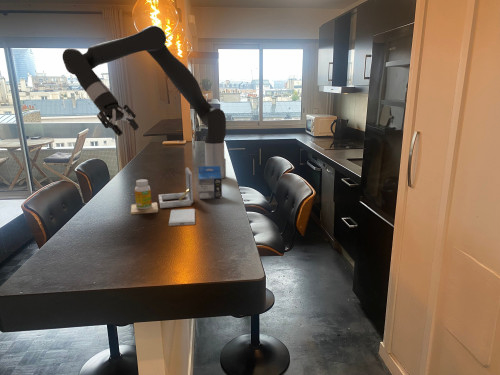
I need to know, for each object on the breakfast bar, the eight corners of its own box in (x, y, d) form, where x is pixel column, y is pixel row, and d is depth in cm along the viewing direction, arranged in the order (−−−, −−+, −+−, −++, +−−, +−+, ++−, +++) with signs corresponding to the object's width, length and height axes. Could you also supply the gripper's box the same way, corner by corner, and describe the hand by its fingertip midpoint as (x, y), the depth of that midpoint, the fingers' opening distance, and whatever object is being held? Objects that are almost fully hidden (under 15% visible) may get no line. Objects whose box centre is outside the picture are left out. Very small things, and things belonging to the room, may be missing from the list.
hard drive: (170, 209, 121) (168, 222, 109) (194, 208, 122) (195, 221, 110) (171, 214, 121) (168, 227, 109) (195, 213, 122) (195, 226, 110)
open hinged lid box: (189, 197, 139) (187, 167, 136) (193, 205, 129) (191, 173, 126) (158, 199, 136) (156, 169, 133) (160, 208, 126) (158, 175, 123)
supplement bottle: (143, 210, 121) (141, 183, 118) (132, 207, 124) (130, 181, 121) (155, 206, 125) (153, 180, 123) (144, 203, 128) (142, 178, 125)
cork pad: (157, 204, 130) (156, 202, 130) (158, 212, 122) (158, 209, 121) (131, 206, 127) (131, 204, 127) (131, 214, 119) (130, 212, 119)
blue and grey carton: (199, 199, 136) (198, 168, 133) (199, 196, 140) (197, 166, 137) (222, 198, 137) (221, 167, 134) (221, 195, 141) (220, 165, 138)
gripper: (91, 93, 123) (120, 130, 124) (120, 88, 135) (146, 121, 135) (82, 107, 127) (110, 142, 128) (112, 100, 139) (137, 132, 140)
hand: (129, 131), depth 132 cm, fingers open, 8 cm apart
